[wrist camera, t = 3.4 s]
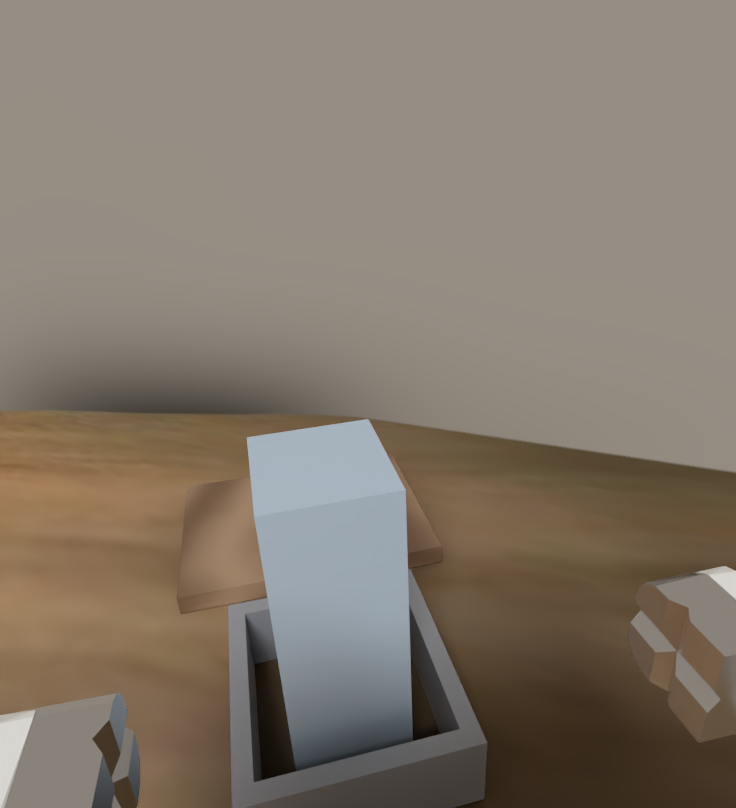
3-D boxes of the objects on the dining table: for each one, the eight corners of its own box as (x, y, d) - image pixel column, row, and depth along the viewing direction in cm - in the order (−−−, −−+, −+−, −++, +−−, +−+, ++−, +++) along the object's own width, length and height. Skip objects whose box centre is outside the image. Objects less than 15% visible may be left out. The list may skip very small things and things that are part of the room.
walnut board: (392, 466, 47) (391, 453, 47) (442, 561, 37) (441, 546, 36) (190, 500, 44) (187, 486, 44) (180, 614, 34) (176, 598, 33)
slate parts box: (381, 656, 30) (367, 417, 24) (413, 760, 25) (405, 490, 19) (285, 678, 29) (246, 435, 23) (299, 790, 24) (254, 516, 18)
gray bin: (411, 617, 33) (410, 568, 31) (484, 799, 24) (487, 742, 22) (238, 655, 31) (228, 605, 29) (245, 867, 22) (231, 810, 20)
